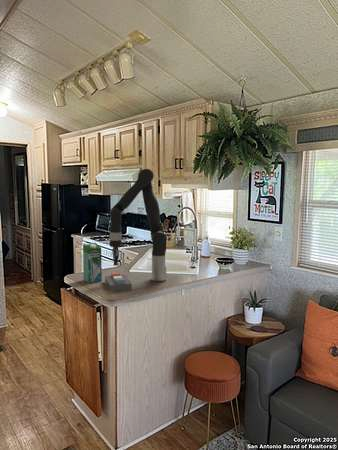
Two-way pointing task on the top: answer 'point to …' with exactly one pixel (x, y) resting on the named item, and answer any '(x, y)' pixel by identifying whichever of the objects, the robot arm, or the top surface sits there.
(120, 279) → the blue key
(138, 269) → the top surface
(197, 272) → the top surface
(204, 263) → the top surface
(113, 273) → the red key
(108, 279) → the key panel
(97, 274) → the milk carton
